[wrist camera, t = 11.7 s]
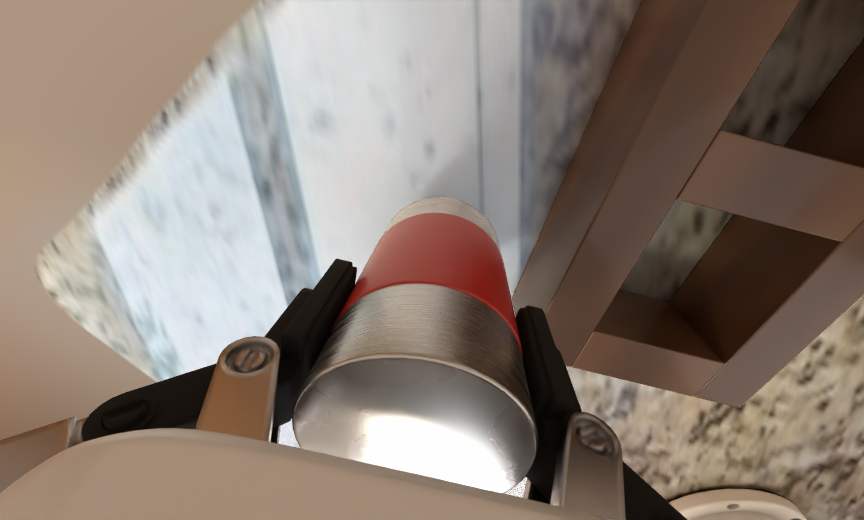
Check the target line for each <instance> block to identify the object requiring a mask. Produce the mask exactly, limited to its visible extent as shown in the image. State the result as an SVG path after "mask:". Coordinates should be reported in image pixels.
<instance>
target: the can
mask: <svg viewBox="0 0 864 520" xmlns="http://www.w3.org/2000/svg"><path fill="white" fill-rule="evenodd" d="M292 424H293V430H294V434H295V437H296V440H297V442H298V444H299V446H300V448H301V449H305V450H310V451H314V452H319V453H324V454H328V455H333V456H337V457H342V458H346V459H351V460H356V461H360V462H365V463H369V464H374V465H378V466H383V467H387V468H392V469H396V470H401V471H405V472H410V473H414V474H419V475H423V476H428V477H432V478H437V479H441V480H446V481H450V482H455V483H459V484H463V485H468V486H472V487H477V488H481V489H485V490H490V491H494V492H499V493H503V494H504V493H506V492H507V491H509V490H510V489H512V488H513V487H515V486H516V485H517V484H518V483H519V482H521V481H522V480H523V479H524V477H525V476H526V475H527V474H528V473H529V471H530V469H531V468H532V466H533V464H534V462H535V458H536V455H537V452H538V433H537V428H536V423H535V418H534V413H533V408H532V404H531V399H530V394H529V389H528V384H527V380H526V375H525V370H524V365H523V354H522V347H521V342H520V337H519V333H518V328H517V324H516V319H515V314H514V310H513V305H512V300H511V296H510V291H509V286H508V282H507V277H506V272H505V268H504V263H503V259H502V256H501V253H500V250H499V245H498V240H497V237H496V234H495V231H494V229H493V227H492V226H491V224H490V223H489V221H488V220H487V219H486V218H485V216H484V215H483V214H482V213H480V212H479V211H478V210H477V209H475V208H474V207H472V206H471V205H469V204H467V203H464V202H462V201H459V200H456V199H451V198H444V197H434V198H427V199H422V200H419V201H416V202H414V203H412V204H410V205H408V206H406V207H405V208H404V209H402V210H401V211H400V212H399V213H398V214H397V215H396V216H395V217H394V218H393V219H392V221H391V222H390V224H389V226H388V228H387V229H386V231H385V233H384V235H383V236H382V238H381V239H380V241H379V242H378V244H377V246H376V247H375V249H374V251H373V253H372V255H371V257H370V258H369V260H368V262H367V264H366V266H365V268H364V269H363V271H362V273H361V275H360V277H359V279H358V280H357V282H356V284H355V286H354V288H353V290H352V291H351V293H350V295H349V297H348V299H347V301H346V302H345V304H344V306H343V308H342V310H341V312H340V313H339V315H338V317H337V319H336V321H335V323H334V326H333V328H332V332H331V334H330V336H329V338H328V339H327V341H326V343H325V345H324V347H323V349H322V351H321V352H320V354H319V356H318V358H317V360H316V362H315V364H314V366H313V367H312V369H311V371H310V373H309V375H308V377H307V379H306V380H305V382H304V384H303V386H302V388H301V390H300V392H299V393H298V395H297V398H296V400H295V403H294V406H293V414H292Z"/></svg>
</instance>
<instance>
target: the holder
mask: <svg viewBox="0 0 864 520" xmlns="http://www.w3.org/2000/svg"><path fill="white" fill-rule="evenodd" d="M799 2H800V0H642V1H641V3H640V6H639V8H638V10H637V13H636V15H635V17H634V19H633V22H632V24H631V26H630V29H629V31H628V33H627V36H626V38H625V40H624V42H623V45H622V47H621V49H620V52H619V54H618V56H617V58H616V61H615V63H614V65H613V68H612V70H611V72H610V75H609V77H608V79H607V81H606V84H605V86H604V88H603V91H602V93H601V95H600V97H599V100H598V102H597V104H596V107H595V109H594V111H593V114H592V116H591V118H590V120H589V123H588V125H587V127H586V130H585V132H584V134H583V137H582V139H581V141H580V143H579V146H578V148H577V150H576V153H575V155H574V157H573V159H572V162H571V164H570V166H569V169H568V171H567V173H566V176H565V178H564V180H563V182H562V185H561V187H560V189H559V192H558V194H557V196H556V198H555V201H554V203H553V205H552V208H551V210H550V212H549V215H548V217H547V219H546V221H545V224H544V226H543V228H542V231H541V233H540V235H539V237H538V240H537V242H536V244H535V247H534V249H533V251H532V254H531V256H530V258H529V260H528V263H527V265H526V267H525V270H524V272H523V274H522V277H521V279H520V281H519V283H518V286H517V288H516V290H515V293H514V295H513V297H512V302H513V306H514V311H515V316H516V315H517V312H518V310H519V309H520V308H524V307H525V306H526V305H529V306H533V307H537V308H541V309H543V311H544V313H545V316H546V319H547V322H548V325H549V328H550V331H551V334H552V336H553V339H554V342H555V345H556V348H557V349H558V350H559V351H560V352H561V355H562V357H563V360H564V363H565V366H569V367H570V366H571V367H574V368H578V369H582V370H586V371H590V372H594V373H598V374H602V375H607V376H611V377H615V378H619V379H623V380H627V381H631V382H635V383H640V384H644V385H648V386H652V387H656V388H660V389H664V390H668V391H673V392H677V393H681V394H685V395H689V396H695V397H697V398H702V399H706V400H710V401H714V402H718V403H722V404H726V405H730V406H734V407H741V406H742V405H743V404H744V403H745V402H746V401H747V400H749V399H750V398H751V397H752V396H753V395H754V394H755V393H756V392H757V391H758V390H759V389H761V388H762V387H763V386H764V385H765V384H766V383H767V382H768V381H769V380H770V379H772V378H773V377H774V376H775V375H776V374H777V373H778V372H779V371H780V370H781V369H782V368H784V367H785V366H786V365H787V364H788V363H789V362H790V361H791V360H792V359H793V358H794V357H796V356H797V355H798V354H799V353H800V352H801V351H802V350H803V349H804V348H805V347H806V346H808V345H809V344H810V343H811V342H812V341H813V340H814V339H815V338H816V337H817V336H819V335H820V334H821V333H822V332H823V331H824V330H825V329H826V328H827V327H828V326H829V325H831V324H832V323H833V322H834V321H835V320H836V319H837V318H838V317H839V316H840V315H841V314H843V313H844V312H845V311H846V310H847V309H848V308H849V307H850V306H851V305H852V304H854V303H855V302H856V301H857V300H858V299H859V298H860V297H861V296H862V295H863V294H864V40H863V41H862V43H861V44H860V45H859V47H858V48H857V49H856V51H855V52H854V53H853V55H852V56H851V57H850V59H849V60H848V61H847V63H846V64H845V66H844V67H843V68H842V70H841V71H840V72H839V74H838V75H837V76H836V78H835V79H834V80H833V82H832V83H831V84H830V86H829V87H828V89H827V90H826V91H825V93H824V94H823V95H822V97H821V98H820V99H819V101H818V102H817V103H816V105H815V106H814V107H813V109H812V110H811V112H810V113H809V114H808V116H807V117H806V118H805V120H804V121H803V122H802V124H801V125H800V126H799V128H798V129H797V130H796V132H795V133H794V135H793V136H792V137H791V139H790V140H789V141H788V143H787V144H786V145H785V146H781V145H777V144H773V143H770V142H766V141H762V140H758V139H755V138H751V137H747V136H743V135H740V134H736V133H732V132H728V131H725V130H721V129H720V128H721V126H722V125H723V123H724V121H725V120H726V118H727V117H728V115H729V113H730V112H731V110H732V109H733V107H734V105H735V104H736V102H737V101H738V99H739V97H740V96H741V94H742V93H743V91H744V90H745V88H746V86H747V85H748V83H749V82H750V80H751V78H752V77H753V75H754V74H755V72H756V70H757V69H758V67H759V66H760V64H761V62H762V61H763V59H764V58H765V56H766V54H767V53H768V51H769V50H770V48H771V46H772V45H773V43H774V42H775V40H776V39H777V37H778V35H779V34H780V32H781V31H782V29H783V27H784V26H785V24H786V23H787V21H788V19H789V18H790V16H791V15H792V13H793V11H794V10H795V8H796V7H797V5H798V3H799ZM675 199H678V200H682V201H685V202H689V203H693V204H697V205H701V206H705V207H709V208H712V209H716V210H720V211H724V212H728V213H732V214H734V216H733V217H732V218H731V220H730V221H729V222H728V224H727V225H726V226H725V228H724V229H723V231H722V232H721V233H720V235H719V236H718V237H717V239H716V240H715V241H714V243H713V244H712V245H711V247H710V248H709V249H708V251H707V252H706V254H705V255H704V256H703V258H702V259H701V260H700V262H699V263H698V264H697V266H696V267H695V268H694V270H693V271H692V272H691V274H690V275H689V277H688V278H687V279H686V281H685V282H684V283H683V285H682V286H681V287H680V289H679V290H678V291H677V293H676V294H675V295H674V297H673V298H672V300H671V301H670V302H669V303H668V302H665V301H661V300H657V299H653V298H649V297H645V296H641V295H637V294H633V293H629V292H625V291H621V290H619V289H620V287H621V285H622V284H623V282H624V281H625V279H626V277H627V276H628V274H629V273H630V271H631V270H632V268H633V266H634V265H635V263H636V262H637V260H638V258H639V257H640V255H641V254H642V252H643V250H644V249H645V247H646V246H647V244H648V242H649V241H650V239H651V238H652V236H653V234H654V233H655V231H656V230H657V228H658V226H659V225H660V223H661V222H662V220H663V219H664V217H665V215H666V214H667V212H668V211H669V209H670V207H671V206H672V204H673V203H674V201H675Z"/></svg>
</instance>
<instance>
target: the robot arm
mask: <svg viewBox="0 0 864 520" xmlns="http://www.w3.org/2000/svg"><path fill="white" fill-rule="evenodd" d="M356 272H357V268H356V267H353V266H352V262H349V261H345V260H341V259H336V260H335V261H334V262H333V264H332V265H331V266H330V268H329V269H328V270H327V272H326V273H325V274H324V276H323V277H322V279H321V280H320V281H319V283H318V284H317V285H316V287H315V288H314V289H313V290H311V289H307V288H304V289H302V290H301V291H300V292H299V294H298V295H297V296H296V297H295V299H294V300H293V301H292V302H291V304H290V305H289V306H288V308H287V309H286V310H285V311H284V313H283V314H282V315H281V316H280V318H279V319H278V320H277V321H276V323H275V324H274V325H273V327H272V328H271V329H270V330H269V332H268V333H267V334H266V335H265V337H258V336H253V337H246V338H243V339H240V340H237V341H235V342H233V343H231V344H230V345H228V346H227V347H226V348H225V349H224V350H223V351H222V353H221V354H220V356H219V358H218V361H217V364H214V365H210V366H207V367H204V368H201V369H198V370H195V371H192V372H188V373H185V374H182V375H179V376H176V377H173V378H170V379H167V380H163V381H160V382H157V383H154V384H151V385H148V386H145V387H142V388H138V389H135V390H133V391H129V392H126V393H123V394H121V395H118V396H116V397H113V398H111V399H110V400H108V401H106V402H105V403H103V404H102V405H100V406H99V407H98V408H97V409H95V410H94V411H93V412H92V413H91V414H90V415H89V417H87V418H84V419H81V420H78V421H76V419H75V417H71V418H68V419H65V420H62V421H58V422H56V423H52V424H49V425H46V426H43V427H40V428H36V429H33V430H31V431H27V432H24V433H21V434H18V435H15V436H11V437H9V438H5V439H2V440H0V520H807V519H806V518H805V516H804V515H803V514H802V513H801V512H800V510H799V509H798V508H797V507H796V506H795V504H793V503H792V502H790V501H789V500H787V499H785V498H783V497H780V496H777V495H775V494H772V493H768V492H763V491H758V490H750V489H719V490H710V491H704V492H698V493H694V494H690V495H687V496H683V497H681V498H678V499H675V500H673V501H671V502H669V503H668V502H667V501H666V500H665V499H664V498H663V497H662V496H661V495H660V494H659V493H657V492H656V491H655V490H654V489H653V488H652V487H651V486H650V485H649V484H647V483H646V482H645V481H644V480H643V479H642V478H641V477H640V476H639V475H637V474H636V473H635V472H634V471H633V470H632V469H631V468H630V467H629V466H627V465H626V464H625V463H624V462H623V461H622V449H621V445H620V442H619V440H618V438H617V436H616V434H615V433H614V432H613V431H612V429H611V428H610V427H609V426H608V425H607V424H606V423H605V422H604V421H602V420H601V419H599V418H598V417H596V416H594V415H592V414H589V413H586V412H582V411H581V408H580V405H579V402H578V400H577V397H576V394H575V391H574V388H573V386H572V383H571V380H570V377H569V374H568V371H567V369H566V366H565V363H564V360H563V357H562V355H561V352H560V351H559V350H558V349H557V348H556V345H555V342H554V339H553V336H552V334H551V331H550V328H549V325H548V322H547V319H546V316H545V313H544V311H543V309H541V308H537V307H533V306H529V305H526V306H525V307H524V308H520V309H519V310H518V312H517V315H516V317H515V319H516V324H517V328H518V333H519V337H520V342H521V347H522V354H523V365H524V370H525V375H526V380H527V384H528V389H529V394H530V399H531V404H532V408H533V413H534V418H535V423H536V428H537V433H538V452H537V455H536V458H535V462H534V464H533V466H532V468H531V469H530V471H529V473H528V474H527V475H526V477H527V478H528V479H527V482H526V486H525V491H524V496H523V498H520V497H516V496H512V495H507V494H503V493H499V492H494V491H490V490H485V489H481V488H477V487H472V486H468V485H463V484H459V483H455V482H450V481H446V480H441V479H437V478H432V477H428V476H423V475H419V474H414V473H410V472H405V471H401V470H396V469H392V468H387V467H383V466H378V465H374V464H369V463H365V462H360V461H356V460H351V459H346V458H342V457H337V456H333V455H328V454H324V453H319V452H314V451H310V450H305V449H301V448H296V447H291V446H287V445H282V444H278V442H279V433H280V425H283V424H285V423H287V422H289V421H290V420H291V418H292V414H293V406H294V403H295V400H296V398H297V395H298V393H299V392H300V390H301V388H302V386H303V384H304V382H305V380H306V379H307V377H308V375H309V373H310V371H311V369H312V367H313V366H314V364H315V362H316V360H317V358H318V356H319V354H320V352H321V351H322V349H323V347H324V345H325V343H326V341H327V339H328V338H329V336H330V334H331V332H332V328H333V326H334V323H335V321H336V319H337V317H338V315H339V313H340V312H341V310H342V308H343V306H344V304H345V302H346V301H347V299H348V297H349V295H350V293H351V291H352V290H353V288H354V286H355V280H356Z"/></svg>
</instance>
